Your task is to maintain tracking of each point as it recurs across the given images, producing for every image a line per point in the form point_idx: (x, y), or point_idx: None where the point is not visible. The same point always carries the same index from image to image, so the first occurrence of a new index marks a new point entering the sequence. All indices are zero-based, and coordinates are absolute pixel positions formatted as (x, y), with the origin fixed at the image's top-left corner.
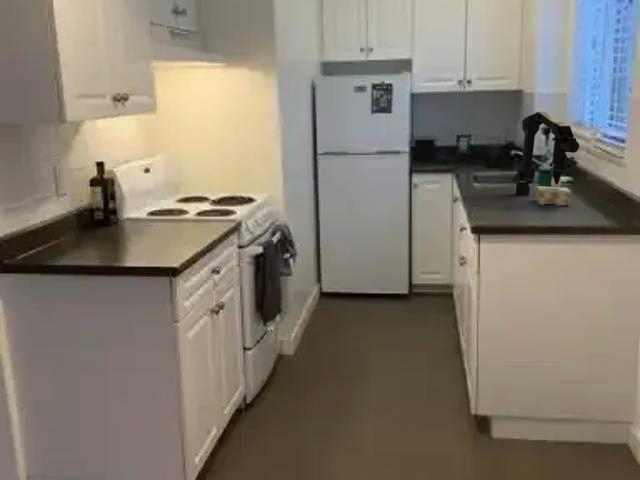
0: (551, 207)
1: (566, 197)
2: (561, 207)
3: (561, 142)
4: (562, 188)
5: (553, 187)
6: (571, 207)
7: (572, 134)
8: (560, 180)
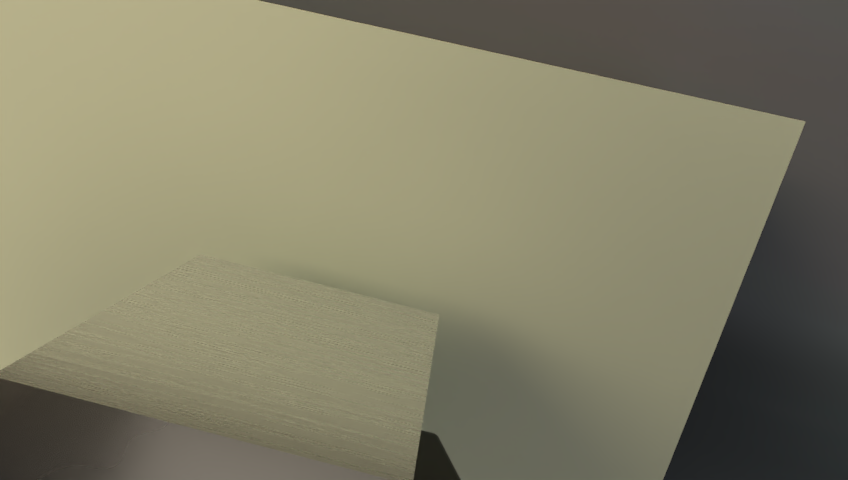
0: (775, 416)
1: None
2: (763, 268)
3: None
4: (176, 139)
5: (66, 314)
6: (750, 98)
7: None
8: (414, 446)
